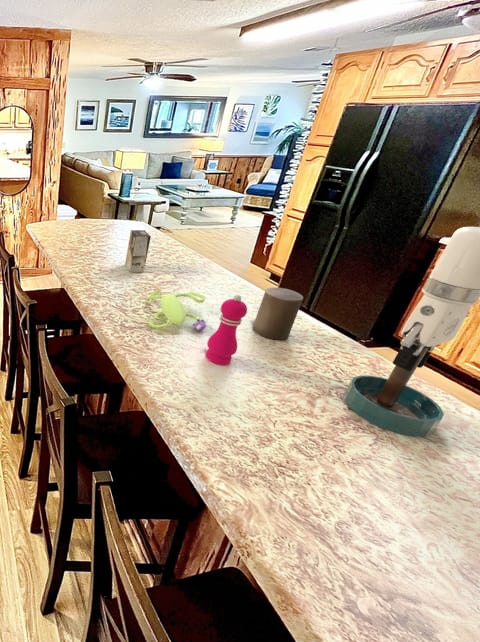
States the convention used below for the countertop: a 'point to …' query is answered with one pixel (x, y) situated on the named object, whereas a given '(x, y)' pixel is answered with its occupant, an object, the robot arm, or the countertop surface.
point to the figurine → (175, 310)
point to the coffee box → (137, 250)
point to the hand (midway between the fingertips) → (407, 365)
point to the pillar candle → (277, 313)
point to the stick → (395, 385)
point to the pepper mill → (226, 332)
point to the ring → (387, 419)
